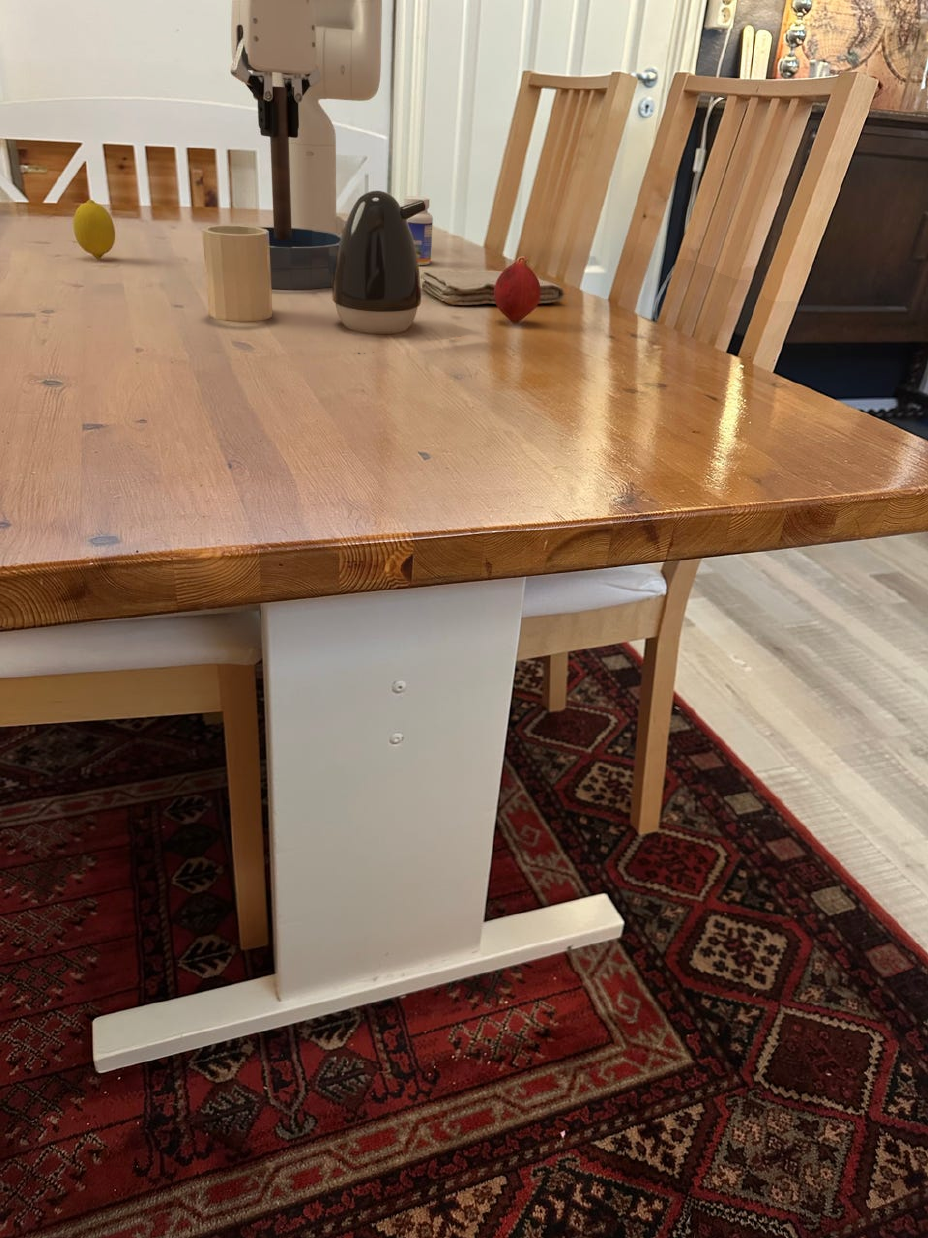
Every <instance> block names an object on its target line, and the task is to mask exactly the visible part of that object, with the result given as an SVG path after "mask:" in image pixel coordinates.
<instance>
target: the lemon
mask: <svg viewBox="0 0 928 1238" xmlns="http://www.w3.org/2000/svg"><path fill="white" fill-rule="evenodd" d="M73 231H74V237H75V239H76V241H77V244H78V245H79V246H80V247H81V248H82V250H83V251H85V252H86V253H89V254H90V255H92V256H93V257H94V258H95V259H97V260H100V259H102V258H103V256H104V255H105V254H107V253H109V252H111V250H112V248H113V247H114V245H115V242H116V229H115V224H114V222H113V219H112V216H111V214H110V213H109V212H108V210H107V209H106V208H105V207H104V206H103V205H101V204H99V203H97V202H95V200H93V199H87V201H86V202H84V203H82V204H81V205H80V206H78V207H77V209H76V211H75V212H74V216H73Z"/></svg>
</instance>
